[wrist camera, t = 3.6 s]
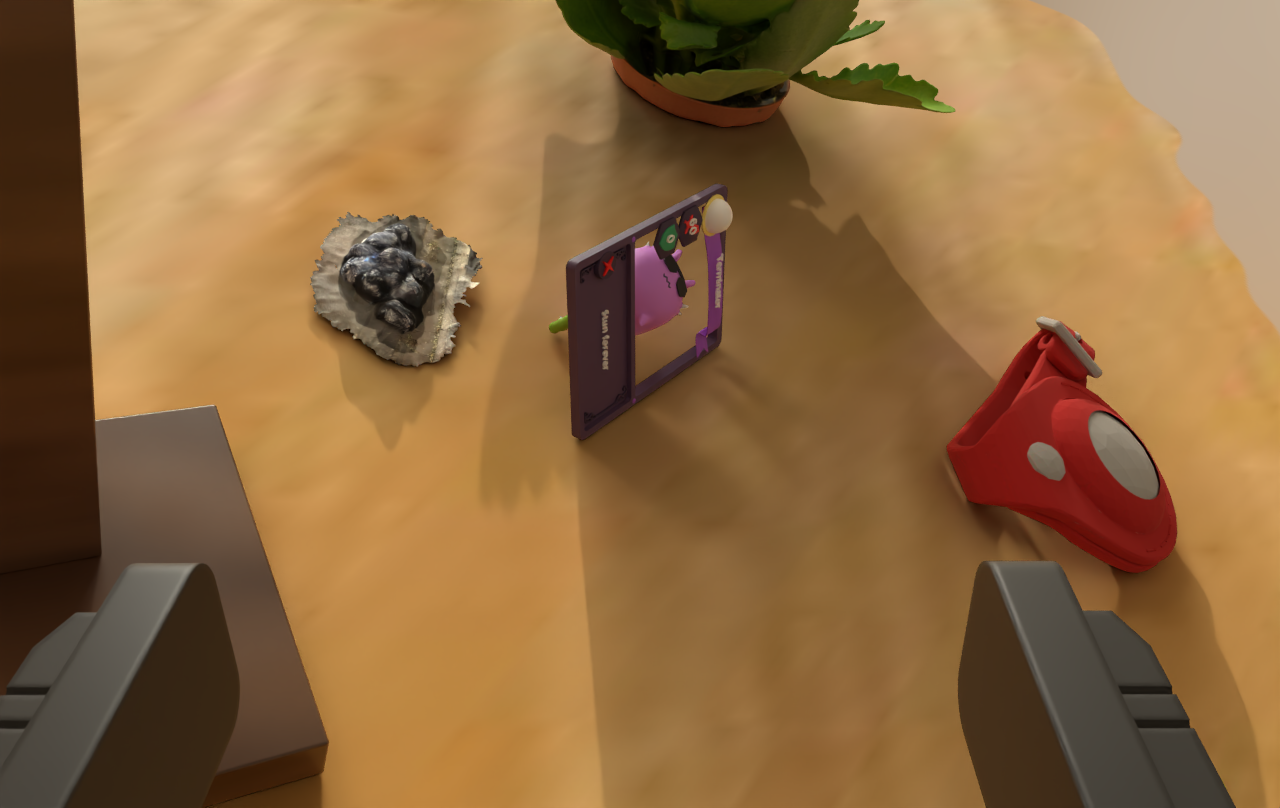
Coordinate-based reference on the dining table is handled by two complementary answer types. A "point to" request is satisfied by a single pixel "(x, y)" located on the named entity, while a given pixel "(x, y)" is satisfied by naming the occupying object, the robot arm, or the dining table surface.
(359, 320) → the grey flat lumpy piece
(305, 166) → the dining table surface
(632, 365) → the pink toy figure
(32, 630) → the shelf stand
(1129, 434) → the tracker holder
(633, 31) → the potted flower
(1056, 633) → the robot arm
